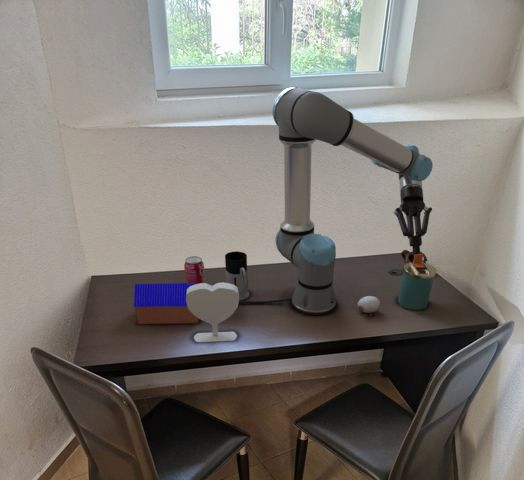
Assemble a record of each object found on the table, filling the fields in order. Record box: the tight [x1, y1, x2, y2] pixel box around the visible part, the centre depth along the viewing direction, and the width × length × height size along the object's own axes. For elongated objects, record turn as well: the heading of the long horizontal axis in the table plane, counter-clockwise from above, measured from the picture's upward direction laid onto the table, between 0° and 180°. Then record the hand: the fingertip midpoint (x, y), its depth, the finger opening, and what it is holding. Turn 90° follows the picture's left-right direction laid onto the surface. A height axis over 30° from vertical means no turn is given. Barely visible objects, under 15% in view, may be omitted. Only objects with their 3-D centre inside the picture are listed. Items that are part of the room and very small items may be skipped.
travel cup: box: [397, 261, 437, 311], centre depth 158 cm, size 11×11×14 cm
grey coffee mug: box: [224, 250, 250, 301], centre depth 160 cm, size 9×14×15 cm, turn 20°
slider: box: [413, 254, 425, 268], centre depth 155 cm, size 4×3×3 cm
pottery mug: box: [400, 249, 428, 264], centre depth 183 cm, size 12×10×8 cm
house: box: [133, 282, 200, 325], centre depth 152 cm, size 12×20×12 cm, turn 92°
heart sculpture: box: [186, 282, 240, 343], centre depth 139 cm, size 16×5×18 cm, turn 94°
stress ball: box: [357, 295, 381, 317], centre depth 156 cm, size 8×8×7 cm
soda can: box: [183, 255, 206, 284], centre depth 166 cm, size 7×7×12 cm
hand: (416, 254), depth 157 cm, fingers closed
